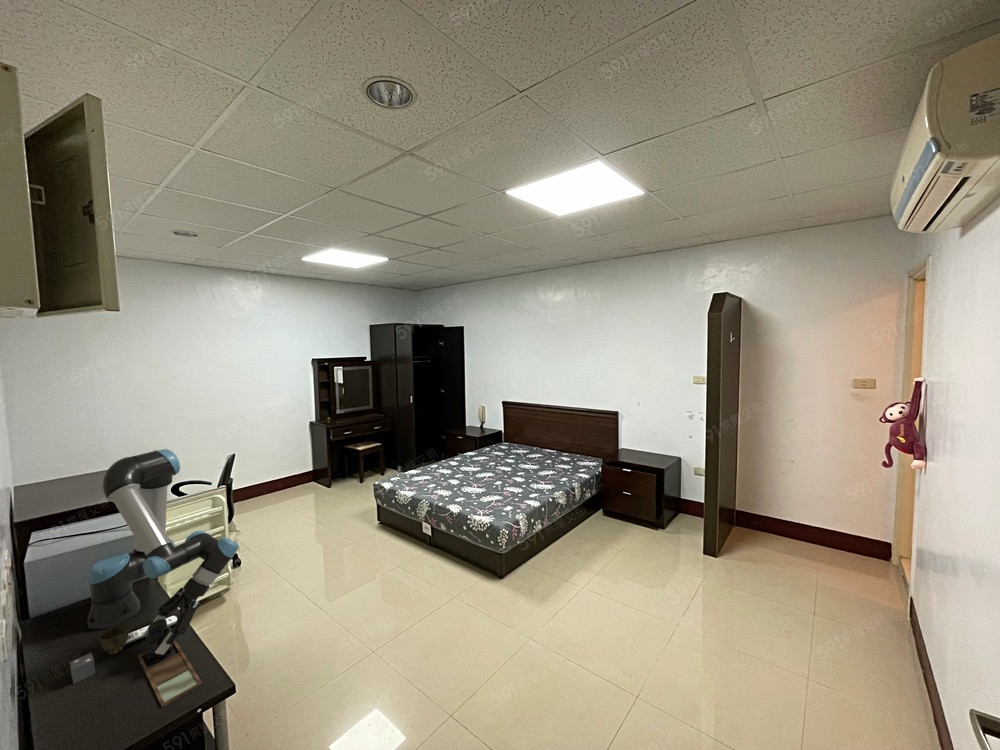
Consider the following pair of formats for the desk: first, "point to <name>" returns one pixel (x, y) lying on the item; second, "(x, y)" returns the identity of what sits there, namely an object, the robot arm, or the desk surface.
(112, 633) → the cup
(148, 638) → the supplement bottle
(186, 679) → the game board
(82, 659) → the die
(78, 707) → the desk surface
